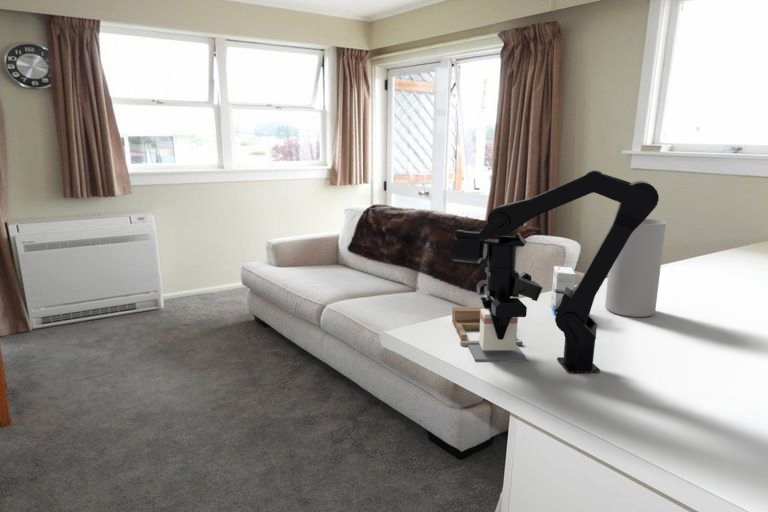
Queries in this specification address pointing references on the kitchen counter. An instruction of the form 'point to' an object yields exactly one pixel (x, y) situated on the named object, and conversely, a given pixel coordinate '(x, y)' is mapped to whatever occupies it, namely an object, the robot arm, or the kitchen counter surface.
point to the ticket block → (489, 336)
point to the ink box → (561, 283)
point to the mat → (496, 354)
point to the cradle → (468, 323)
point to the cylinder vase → (637, 272)
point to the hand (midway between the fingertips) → (497, 335)
